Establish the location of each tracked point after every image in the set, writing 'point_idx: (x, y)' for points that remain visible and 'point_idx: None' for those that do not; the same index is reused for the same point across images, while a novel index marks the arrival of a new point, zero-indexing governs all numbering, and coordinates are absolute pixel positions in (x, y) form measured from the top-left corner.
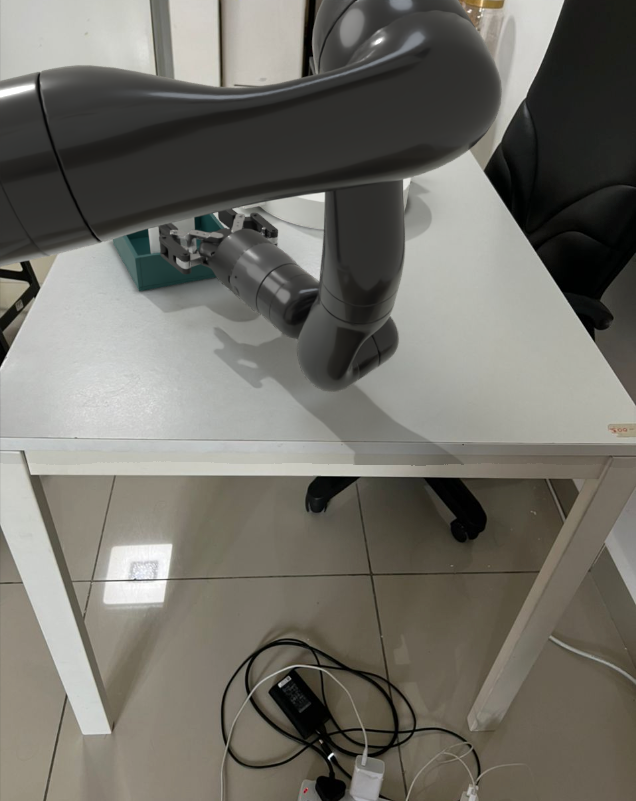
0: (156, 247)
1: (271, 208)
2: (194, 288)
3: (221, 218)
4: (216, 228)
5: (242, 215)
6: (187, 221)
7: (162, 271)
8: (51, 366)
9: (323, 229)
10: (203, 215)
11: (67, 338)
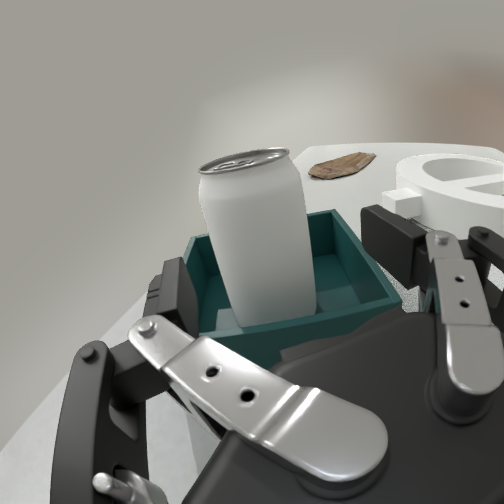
0: (232, 303)
1: (429, 219)
2: None
3: (371, 245)
4: (357, 259)
5: (448, 237)
6: (288, 252)
7: None
8: (13, 492)
9: None
10: (336, 233)
11: (45, 457)
